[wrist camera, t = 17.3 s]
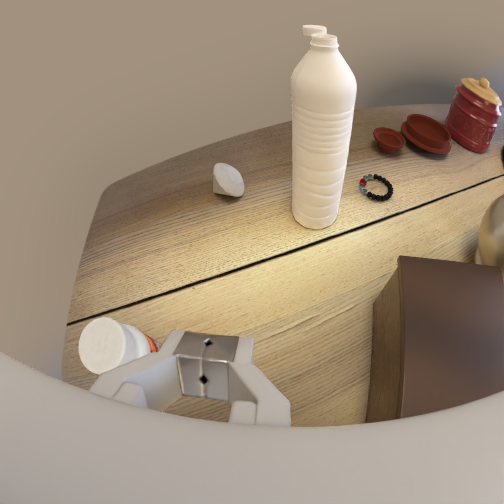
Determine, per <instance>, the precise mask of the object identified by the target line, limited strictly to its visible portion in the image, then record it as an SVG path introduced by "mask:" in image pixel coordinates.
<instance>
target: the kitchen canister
mask: <svg viewBox="0 0 504 504" xmlns="http://www.w3.org/2000/svg"><path fill="white" fill-rule="evenodd" d="M461 83H462V84H461V85H456V91H457V92H456V95H455V96H454V97H453V98H452V104H451V107H450V111H449V114H448V116H447V118H446V124H445V128H446V129H447V130H448V131H449V133H450V135H451V137H452V138H453V139H454V140H456V141H457V142H458V143H459V144H461V145H462V146H464V147H466V148H467V149H469V150H472V151H474V152H478V153H484V152H485V151H486V150H487V149H488V147H489V145H490V141H491V139H492V136H493V134H494V132H495V129H496V127H497V126H498V122H497V121H498V117H499V116H501V115H502V111H501V109H500V106H501V105H502V102H501V100H500V99H499V97H498V95H497V94H496V92H494V91H493V90H492V89H491V88H489V82H488V80H487V79H485V78H481V79H480V80H479V81H477V80H475V79H472V78H466V79H461Z"/></svg>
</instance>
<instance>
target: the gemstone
mask: <svg viewBox="0 0 504 504" xmlns="http://www.w3.org/2000/svg"><path fill="white" fill-rule="evenodd" d="M213 193H218V194H224V195H229V196H235V197H239V196H242V195H243V193H244V183H243V180H242V177H241V175H240V173H239V172H238V171H237V170H236V169H235V168H233V167H232V166H230V165H227V164H225V163H218V164H216V165H215V166H214V171H213Z"/></svg>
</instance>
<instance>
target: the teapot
mask: <svg viewBox="0 0 504 504" xmlns="http://www.w3.org/2000/svg"><path fill="white" fill-rule="evenodd" d="M474 264H481V265H490V266H498V267H500V268H501V272H502V276H503V281H504V194H503V195H502V196H500V197H498V198H497V199H496V200H495V201H493V202H492V204H491V205H490V206H489V207H488V209H487V210H486V212H485V214H484V216H483V218H482V221H481V225H480V229H479V236H478V248H477V249H476V252H475V256H474Z"/></svg>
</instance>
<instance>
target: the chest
mask: <svg viewBox="0 0 504 504" xmlns="http://www.w3.org/2000/svg"><path fill="white" fill-rule="evenodd" d="M400 373H401V302H400V285H399V273H398V267H397V269H396V270H395V272H394V273H393V275H392V277H391V278H390V280H389V281H388V282H387V284H386V285H385V287H384V288H383V290H382V291H381V293H380V294H379V296H378V297H377V298H376V300H375V301H374V303H373V338H372V359H371V374H370V385H369V396H368V405H367V413H366V420H365V423H373V422H381V421H388V420H395V419H397V411H398V401H399V389H400Z"/></svg>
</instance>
